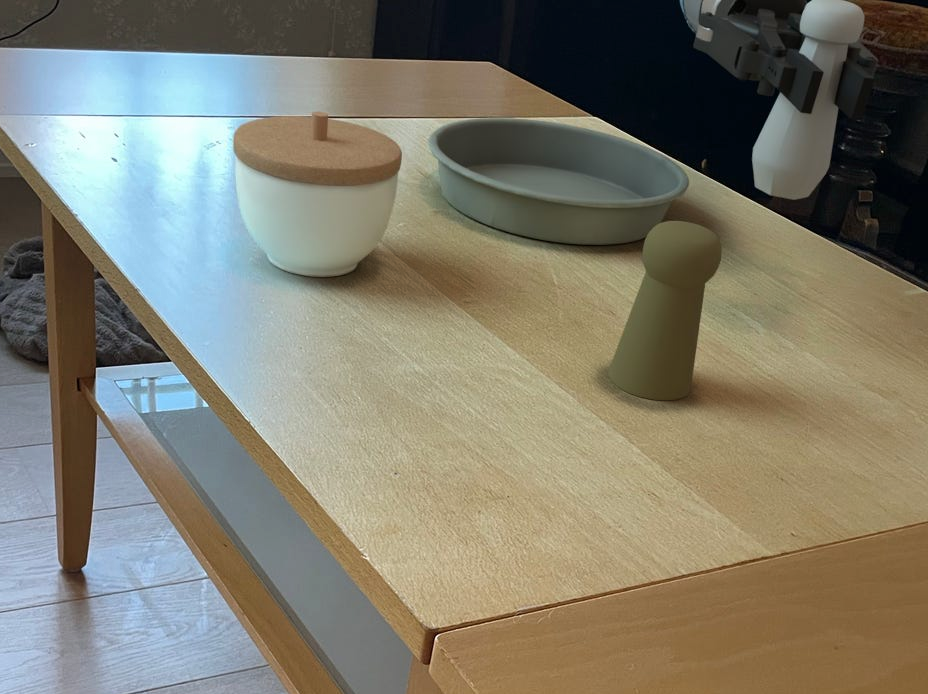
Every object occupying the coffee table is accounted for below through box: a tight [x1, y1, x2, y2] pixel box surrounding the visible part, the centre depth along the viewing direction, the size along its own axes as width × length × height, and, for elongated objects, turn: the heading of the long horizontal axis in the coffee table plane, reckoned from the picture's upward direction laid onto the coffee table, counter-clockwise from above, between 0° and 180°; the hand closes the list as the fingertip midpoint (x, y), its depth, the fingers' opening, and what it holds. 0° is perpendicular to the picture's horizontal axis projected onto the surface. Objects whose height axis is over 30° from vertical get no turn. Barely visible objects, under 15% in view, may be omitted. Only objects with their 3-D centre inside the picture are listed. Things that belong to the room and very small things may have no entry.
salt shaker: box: [751, 0, 866, 201], centre depth 85 cm, size 6×6×13 cm
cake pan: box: [427, 117, 690, 246], centre depth 109 cm, size 25×25×4 cm
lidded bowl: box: [232, 111, 403, 278], centre depth 89 cm, size 13×13×11 cm
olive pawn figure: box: [607, 220, 722, 401], centre depth 79 cm, size 6×6×11 cm
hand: (837, 95), depth 80 cm, fingers closed on salt shaker, 3 cm apart
